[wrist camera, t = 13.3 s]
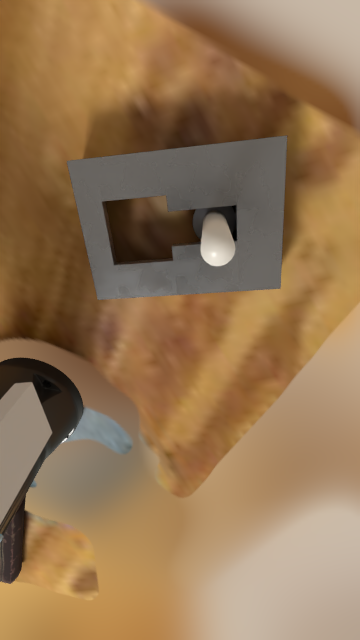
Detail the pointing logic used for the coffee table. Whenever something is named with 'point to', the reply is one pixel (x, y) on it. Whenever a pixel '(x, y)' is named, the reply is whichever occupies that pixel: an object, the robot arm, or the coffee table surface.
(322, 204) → the coffee table surface
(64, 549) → the coffee table surface
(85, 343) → the coffee table surface
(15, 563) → the diary
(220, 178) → the keyhole plate
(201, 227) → the peg
